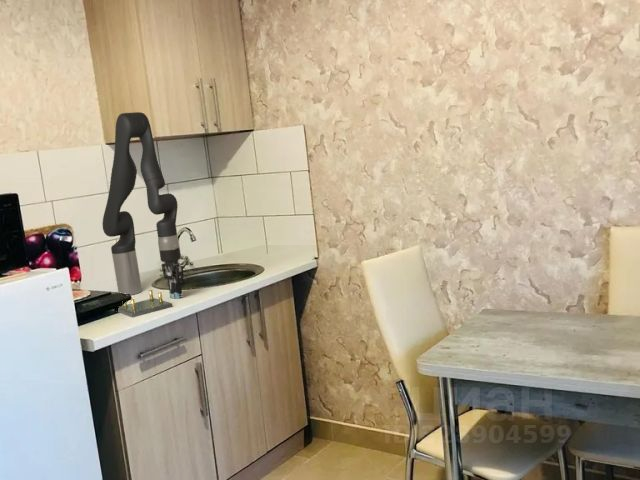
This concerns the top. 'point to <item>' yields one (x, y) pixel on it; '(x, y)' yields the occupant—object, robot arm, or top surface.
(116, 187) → the robot arm
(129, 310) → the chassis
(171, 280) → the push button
